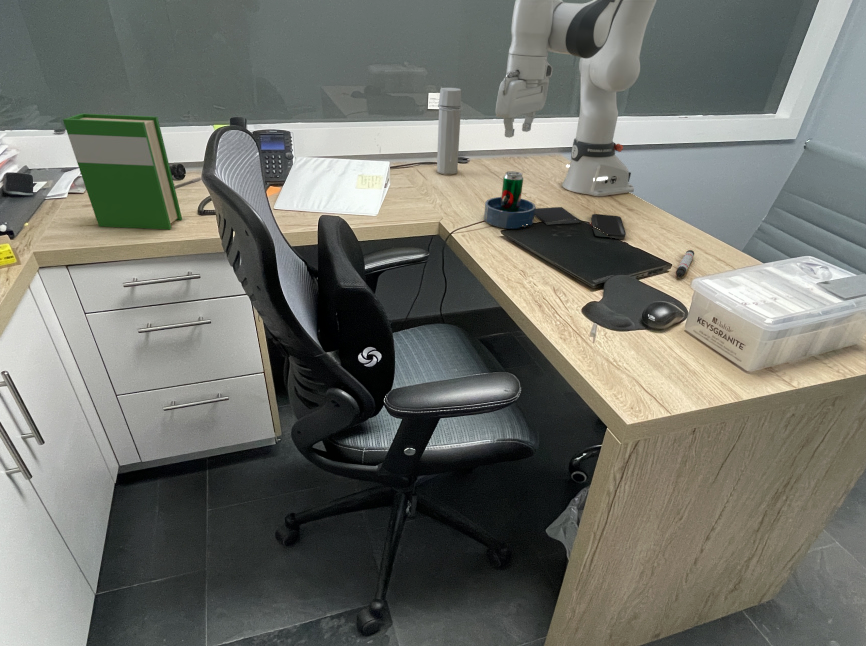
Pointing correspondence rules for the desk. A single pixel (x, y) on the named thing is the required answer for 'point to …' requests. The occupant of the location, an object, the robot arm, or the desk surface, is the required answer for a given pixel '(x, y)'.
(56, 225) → the desk surface
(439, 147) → the water bottle
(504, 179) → the soda can
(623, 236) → the phone
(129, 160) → the hardback book
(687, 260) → the marker
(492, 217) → the dish
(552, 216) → the black flat square pad
